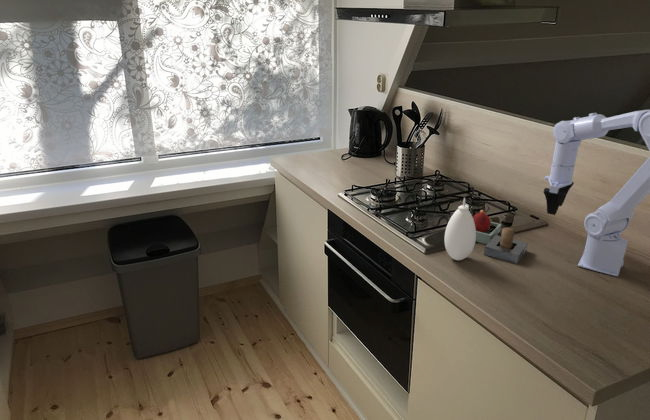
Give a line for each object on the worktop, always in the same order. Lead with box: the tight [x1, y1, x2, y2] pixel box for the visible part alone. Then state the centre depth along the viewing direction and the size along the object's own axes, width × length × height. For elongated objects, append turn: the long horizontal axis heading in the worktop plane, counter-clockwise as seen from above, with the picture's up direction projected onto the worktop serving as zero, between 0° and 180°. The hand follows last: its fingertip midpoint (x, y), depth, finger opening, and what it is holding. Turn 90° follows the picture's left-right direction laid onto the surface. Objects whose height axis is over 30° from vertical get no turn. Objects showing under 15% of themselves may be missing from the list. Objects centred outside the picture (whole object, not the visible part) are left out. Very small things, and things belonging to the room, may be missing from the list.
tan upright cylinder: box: [500, 227, 515, 250], centre depth 141 cm, size 3×3×7 cm
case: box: [475, 221, 502, 245], centre depth 152 cm, size 10×10×3 cm
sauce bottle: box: [444, 197, 476, 261], centre depth 135 cm, size 8×8×18 cm
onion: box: [472, 209, 492, 233], centre depth 151 cm, size 6×6×8 cm
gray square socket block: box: [483, 235, 529, 265], centre depth 142 cm, size 9×9×2 cm
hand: (554, 209), depth 145 cm, fingers open, 7 cm apart
